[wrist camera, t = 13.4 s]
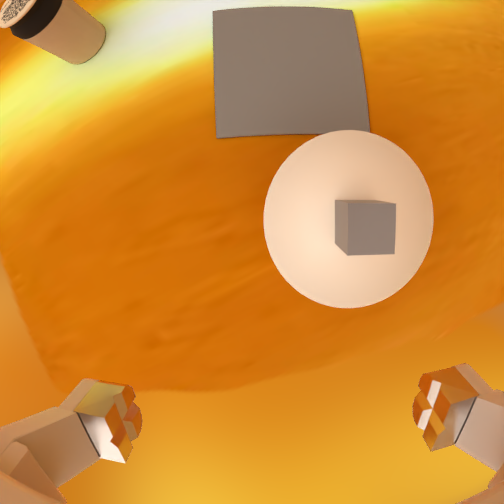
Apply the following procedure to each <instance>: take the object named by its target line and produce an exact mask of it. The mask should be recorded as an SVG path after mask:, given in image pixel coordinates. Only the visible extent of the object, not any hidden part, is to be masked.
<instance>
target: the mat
mask: <svg viewBox="0 0 504 504" xmlns="http://www.w3.org/2000/svg"><path fill="white" fill-rule="evenodd" d="M213 51H214V86H215V113H216V135H217V138H229V137H243V136H261V135H289V134H326V133H329V132H334V131H340V130H357V131H365V132H369V133H370V125H369V115H368V105H367V96H366V88H365V80H364V73H363V66H362V60H361V54H360V48H359V42H358V37H357V32H356V26H355V22H354V17H353V12H352V10H343V9H332V8H317V7H253V8H239V9H228V10H218V11H213Z"/></svg>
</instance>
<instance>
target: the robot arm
mask: <svg viewBox="0 0 504 504" xmlns="http://www.w3.org/2000/svg"><path fill="white" fill-rule="evenodd" d="M418 386H419V388H420V389H421V391H420V392H419V393H418V395H417V396H416V397H415V399H414V403H413V417H414V421H415V423H416V425H417V427H419V428H421V429H423V430H424V434H423V438H424V440H425V442H426V444H427V446H428V447H429V449H430V451H434V450H438V449H441V448H444V447H448V446H451V445H454V444H455V446H456V447H458V448H459V449H461V450H463V451H464V452H466V453H467V454H469V455H471V456H472V457H474V458H475V459H477V460H479V461H480V462H482V463H484V464H485V465H487V466H488V467H490V468H492V469H493V470H495V471H496V472H497V473H496V474H495V476H494V477H493V478H492V480H491V481H490V483H489V485H488V488H489V489H487V490H485V491H483V492H481V493H479V494H477V495H475V496H472V497H470V498H468V499H466V500H464V501H461V502H459V503H457V504H504V392H503V391H500V390H494V391H493V389H491V387H489V385H488V384H487V383H486V382H485V381H484V380H483V379H482V378H481V377H480V376H479V375H478V374H477V373H476V372H475V371H474V370H473V369H472V368H471V366H470V365H468V364H466V363H464V364H460V365H456V366H453V367H451V368H447V369H443V370H439V371H434V372H430V373H425V374H423V375H422V377H421V378H420V381H419V385H418ZM134 398H135V393H134V391H133V388H132V387H131V386H129V385H126V384H119V383H113V382H107V381H102V380H100V381H99V380H95V379H89V378H85V379H82V381H81V382H80V383H79V384H78V385H77V386H76V388H75V389H74V390H73V391H72V392H71V393H70V394H69V396H68V397H67V398H66V399H65V400H64V402H63V403H62V404H61V405H60V406H59V407H52V408H50V409H47V410H45V411H42V412H40V413H37V414H35V415H32V416H30V417H27V418H24V419H22V420H19V421H16V422H14V423H11V424H8V425H5V426H3V427H0V504H66V503H67V502H66V499H65V497H64V496H63V495H62V494H61V493H60V492H59V490H58V489H57V487H59V486H61V485H62V484H64V483H65V482H67V481H68V480H70V479H71V478H73V477H74V476H76V475H77V474H79V473H80V472H82V471H83V470H85V469H86V468H88V467H89V466H91V465H92V464H94V463H95V462H96V461H98V460H99V459H100V458H104V459H108V460H113V461H117V462H122V463H126V461H127V459H128V457H129V455H130V453H131V451H132V449H133V446H132V444H131V441H132V440H134V439H136V438H137V437H138V436H139V433H140V432H141V427H142V415H141V412H140V408H139V407H138V406H137V405H136V404H135V403H134V402H133V400H134Z"/></svg>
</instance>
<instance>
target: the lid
mask: <svg viewBox="0 0 504 504" xmlns="http://www.w3.org/2000/svg"><path fill="white" fill-rule="evenodd" d="M264 232H265V238H266V243H267V247H268V250H269V252H270V255H271V258H272V260H273V262H274V263H275V265H276V267H277V269H278V270H279V272H280V273H281V274H282V276H283V277H284V278H285V280H286V281H287V282H288V283H289V284H290V285H291V286H292V287H293V288H295V289H296V290H297V291H298V292H300V293H301V294H303V295H304V296H306V297H308V298H309V299H311V300H313V301H316V302H318V303H320V304H324V305H327V306H331V307H338V308H357V307H364V306H368V305H371V304H375V303H377V302H380V301H382V300H384V299H386V298H388V297H389V296H391V295H393V294H394V293H396V292H397V291H398V290H400V289H401V288H402V287H403V286H404V285H405V284H406V283H407V282H408V281H409V280H410V279H411V278H412V277H413V276H414V274H415V273H416V272H417V270H418V269H419V267H420V265H421V264H422V262H423V260H424V258H425V256H426V254H427V251H428V248H429V245H430V241H431V237H432V232H433V205H432V199H431V195H430V192H429V188H428V186H427V183H426V181H425V178H424V177H423V175H422V173H421V171H420V169H419V168H418V167H417V165H416V164H415V163H414V161H413V160H412V159H411V158H410V157H409V156H408V155H407V154H406V153H405V152H404V151H403V150H402V149H401V148H399V147H398V146H397V145H396V144H394V143H392V142H391V141H389V140H387V139H386V138H383V137H381V136H378V135H376V134H373V133H369V132H365V131H357V130H340V131H334V132H329V133H326V134H323V135H320V136H317V137H315V138H313V139H311V140H309V141H307V142H306V143H304V144H303V145H301V146H300V147H298V148H297V149H296V150H295V151H294V152H293V153H292V154H291V155H290V156H289V157H288V158H287V159H286V160H285V161H284V163H283V164H282V165H281V166H280V168H279V170H278V171H277V173H276V174H275V176H274V178H273V181H272V183H271V185H270V187H269V190H268V194H267V197H266V202H265V208H264Z"/></svg>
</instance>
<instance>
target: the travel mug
mask: <svg viewBox="0 0 504 504" xmlns="http://www.w3.org/2000/svg"><path fill="white" fill-rule="evenodd" d="M0 27H2V28H7V27H9V28H10V29H11V31H12V33H13V35H15V36H17V37H19V38H21V39H23V40H25V41H27V42H30V43H32V44H34V45H36V46H38V47H40V48H42V49H44V50H46V51H48V52H50V53H52V54H54V55H56V56H58V57H60V58H62V59H64V60H66V61H68V62H69V63H72V64H80V63H83V62H85V61H87V60H89V59H90V58H91V57H93V56H94V55H95V54H96V53H97V52H98V50H99V49H100V48H101V46H102V44H103V42H104V39H105V28H104V26H103V25H102V24H101V23H99V22H98V21H97V20H96V19H95V18H94V17H92V16H91V15H90V14H89V13H88V12H86V11H85V10H84V9H83V8H81V7H80V6H79V5H78V4H77V3H75V2H74V1H73V0H6V2H5V3H4V5H3V7H2V9H1V11H0Z"/></svg>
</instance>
